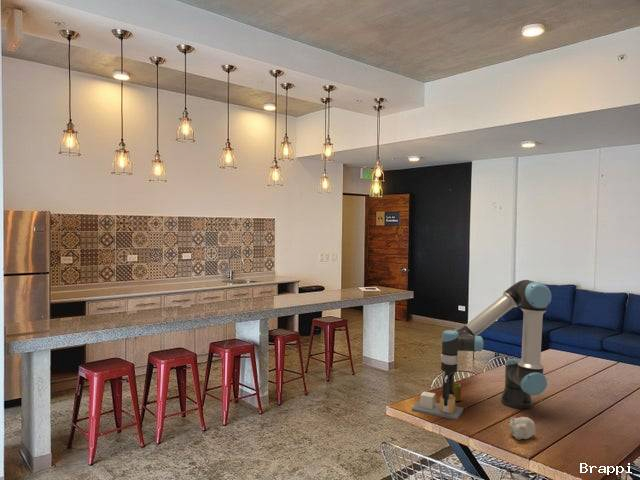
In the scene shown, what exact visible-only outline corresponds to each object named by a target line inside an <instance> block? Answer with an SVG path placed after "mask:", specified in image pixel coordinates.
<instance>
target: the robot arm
mask: <svg viewBox="0 0 640 480" xmlns="http://www.w3.org/2000/svg"><path fill="white" fill-rule="evenodd" d="M551 301H552V292H551V290H550V288H549V287H548V286H547V285H546V284H543V283H542V282H539V281H534V280H529V279H522V280H519V281H517V282H516V283H514V284H513V285H511V286H509V287H508V288H507V289H506V290H504V291H503V293H502V295H501V297H499V298H498V299H496V300H495V301H494V302H493V303H492V304H490V305H489V306H487V307H486V308H485V309H484V310H483V311H481V312H480V313H479V314H478V315H476V316H475V317H474V318H472V319H471V320H470V321H469V322H467V323H466V324H465V325H464V326H462V327H458V328H455V329H454V330H453V329H452V330H451V329H446V330H443V331H442V336H441V354H440V358H441V363H440V364H441V365H440V370H441V372H444V374H443V378H442V392H441V393H442V395H441V397H442V398H443V412H447V413H449V396H451V397H452V396H453V395H452V394H454V392H453V391H454V383H455V373H456V372H457V371H458V364H457V363H458V356H459V355H458V353H459V352H475V353H476V352H482V351H483V350H484V344H485V343H484V339H483V337H482V336H481V335H480V334H481V333H483V332H484V331H485V330H486V329H488V327H490V326H491V325H492V324H494V323H495V322H496V321H498V320H499V319H500V318H501V317H503V316H504V315H505V314H507V313H508V312H509V311H510V310H512V309H513V308H517V307H519V306H520V307H519V309H520V310H521V311H522V313H523V317H522V318H523V319H522V335H521V338H522V339H521V358H507V359H506V361H505V367H504V368H505V371H504V373H505V374H504V379H505V380H504V388H503V391H502V393H501V396H500V403H501V404H503V405H505V406H506V407H510V408H514V409H520V410H521V409H522V410H523V409H524V410H525V409H530V408H533V405H534V404H533V398H532V396H538V395H541V394H542V393H543V392H544V391H545V390H546V389H547V386H548V381H547V378H546V376H545V375H544V365H542V363H541V357H542V356H541V355H542V335H543V319H544V318H543V316H544V314H545V313H546V312H547V311H548V310H547V309H548V306H549V305H550V303H551Z"/></svg>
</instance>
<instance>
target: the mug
mask: <svg viewBox="0 0 640 480" xmlns="http://www.w3.org/2000/svg"><path fill="white" fill-rule="evenodd" d="M453 392H454V394H452V395H453V396H452V397H455V402H460V401H462V385H461V384H460V383H458V382H454V391H453Z"/></svg>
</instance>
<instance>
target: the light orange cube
mask: <svg viewBox="0 0 640 480" xmlns="http://www.w3.org/2000/svg"><path fill="white" fill-rule="evenodd" d="M439 403H440V411H442V412H443V398H442V396H440V397H439ZM455 406H456V401H455V397H451V396H449V413H453V411H454V410H455Z"/></svg>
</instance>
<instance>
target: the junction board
mask: <svg viewBox="0 0 640 480" xmlns="http://www.w3.org/2000/svg"><path fill="white" fill-rule="evenodd" d="M436 395H437V394H436V393H435V392H429V391H423V392H422V393H421V394H420V396H419V397H420V398H419V400H418V401H417V402H416V403H415V404H414V405H413V406H412V408H411V411H412V412H416V413H421V414H425V415H431V416H436V417H441V418H445V419H450V420H455V421H458V419H459V418H460V416H461V415H462V413H463V412H464V407H462V406H461V407H460V406H456V405H455V410H454V411H453V413H447V412H442V411H440V402H436V398H437V397H436Z"/></svg>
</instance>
